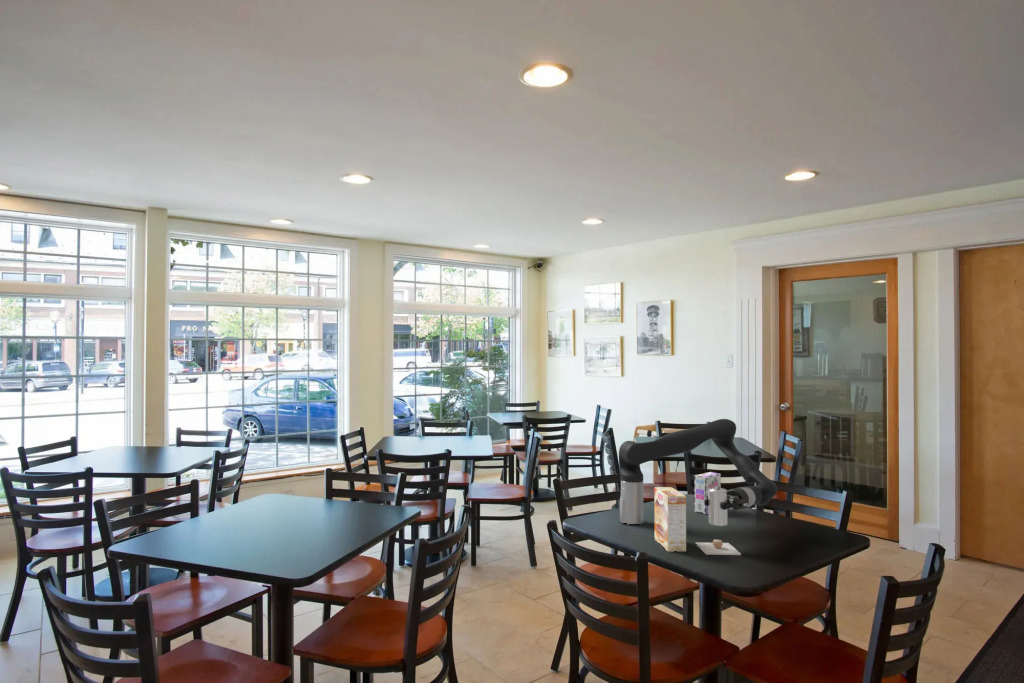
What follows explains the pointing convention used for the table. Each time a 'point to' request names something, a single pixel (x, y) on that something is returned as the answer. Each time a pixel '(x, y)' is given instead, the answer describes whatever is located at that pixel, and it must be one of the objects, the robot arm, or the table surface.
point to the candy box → (704, 489)
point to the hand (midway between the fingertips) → (714, 504)
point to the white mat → (725, 549)
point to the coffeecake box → (670, 518)
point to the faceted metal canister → (717, 506)
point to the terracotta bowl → (717, 543)
